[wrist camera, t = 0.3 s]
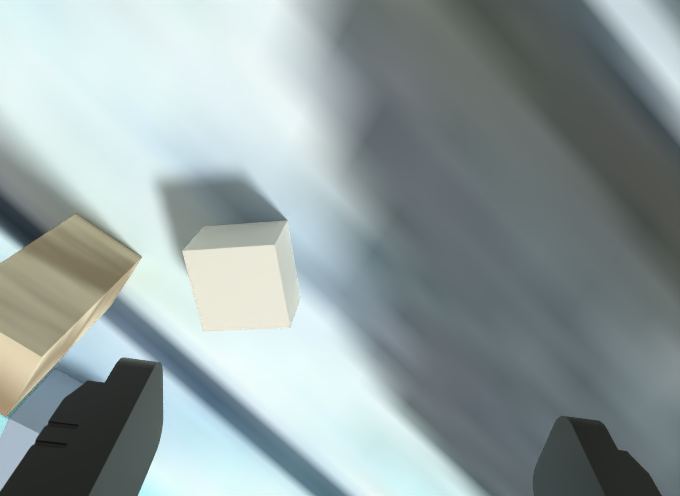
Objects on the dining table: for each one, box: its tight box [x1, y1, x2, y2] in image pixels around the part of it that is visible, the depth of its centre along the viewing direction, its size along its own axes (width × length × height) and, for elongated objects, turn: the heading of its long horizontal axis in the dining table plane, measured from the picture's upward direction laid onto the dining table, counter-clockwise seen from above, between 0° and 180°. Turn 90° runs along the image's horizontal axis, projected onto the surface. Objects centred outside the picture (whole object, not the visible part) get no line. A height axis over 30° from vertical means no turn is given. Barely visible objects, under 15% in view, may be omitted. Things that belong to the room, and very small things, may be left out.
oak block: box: [0, 214, 142, 417], centre depth 29 cm, size 4×4×10 cm
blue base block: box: [0, 369, 84, 491], centre depth 37 cm, size 7×7×5 cm
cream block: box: [182, 220, 301, 331], centre depth 31 cm, size 5×5×4 cm
